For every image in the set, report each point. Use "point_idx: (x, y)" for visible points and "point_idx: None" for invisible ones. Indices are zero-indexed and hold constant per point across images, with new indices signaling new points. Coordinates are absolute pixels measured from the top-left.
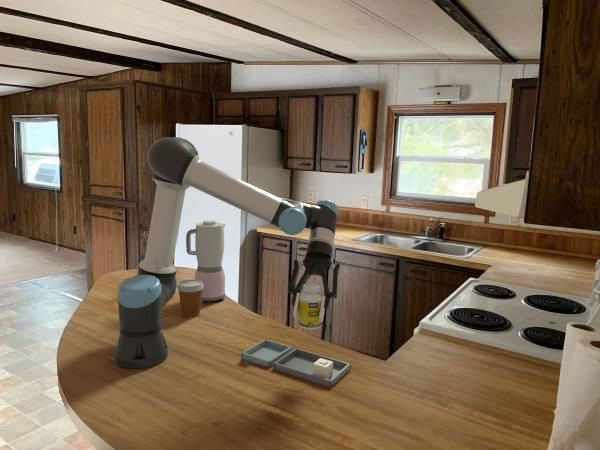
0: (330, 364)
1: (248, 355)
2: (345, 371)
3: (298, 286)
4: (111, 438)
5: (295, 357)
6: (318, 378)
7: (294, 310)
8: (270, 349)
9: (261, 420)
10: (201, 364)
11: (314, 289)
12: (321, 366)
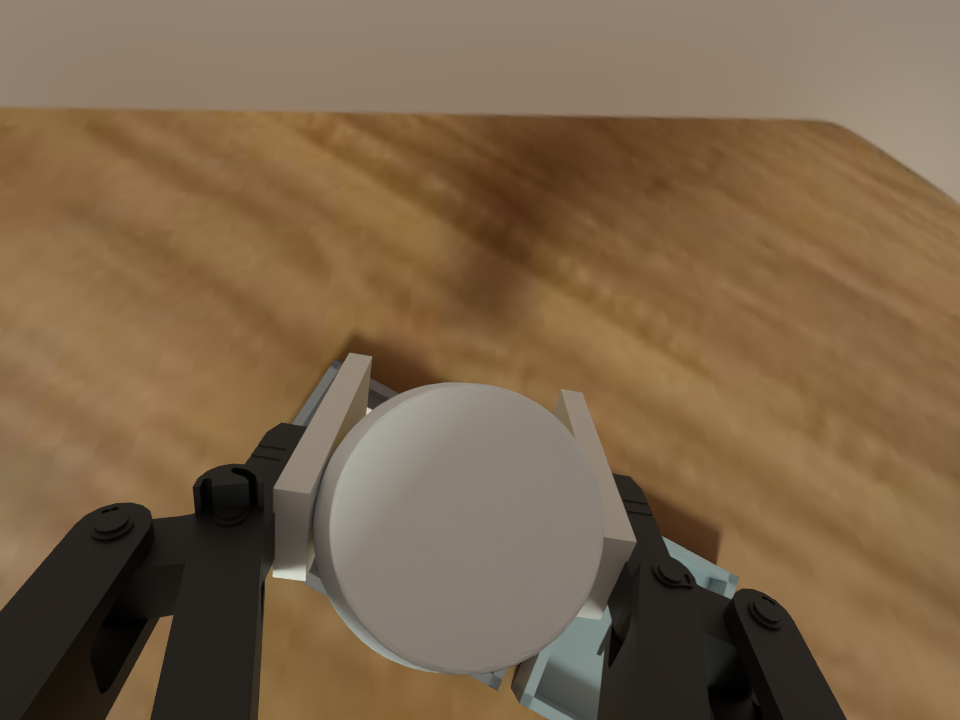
0: None
1: (701, 558)
2: None
3: (666, 634)
4: (848, 136)
5: None
6: (385, 387)
7: (582, 409)
8: None
9: (551, 199)
10: (843, 516)
11: (423, 392)
12: (370, 409)
